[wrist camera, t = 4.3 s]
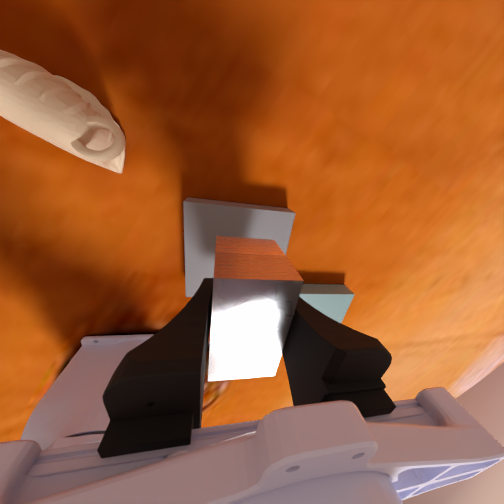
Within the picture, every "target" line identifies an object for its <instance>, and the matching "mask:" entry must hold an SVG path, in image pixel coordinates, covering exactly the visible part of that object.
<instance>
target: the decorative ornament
mask: <svg viewBox="0 0 504 504" xmlns="http://www.w3.org/2000/svg"><path fill="white" fill-rule="evenodd" d="M0 116H2V117H4V118H5V119H7V120H9V121H10V122H12V123H14V124H16V125H18V126H19V127H21V128H23V129H25V130H27V131H29V132H31V133H32V134H34V135H36V136H38V137H40V138H42V139H44V140H46V141H48V142H50V143H52V144H53V145H55V146H57V147H59V148H61V149H63V150H65V151H67V152H69V153H72V154H74V155H76V156H78V157H80V158H82V159H84V160H86V161H88V162H91V163H94V164H96V165H99V166H101V167H104V168H107V169H109V170H112V171H114V172H117V173H121V174H122V171H123V166H124V160H125V136H124V134H123V132H122V130H121V129H120V127H119V125H118V124H117V123H116V122H115V121H114V120H113V118H112V116H111V114H110V112H109V111H108V110H107V109H106V108H105V107H104V106H102V105H101V103H100V102H99V101H98V99H97V98H96V97H95V96H94V95H93V94H92V93H90V92H89V91H87V90H85V89H83V88H81V87H79V86H78V85H76V84H75V83H73V82H72V81H70V80H68V79H66V78H64V77H61V76H57V75H52V74H51V73H49V72H48V71H47V70H45V69H44V68H43V67H41V66H39V65H37V64H35V63H33V62H30V61H27V60H24V59H22V58H20V57H18V56H16V55H14V54H11V53H9V52H6V51H3V50H1V49H0Z"/></svg>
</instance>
